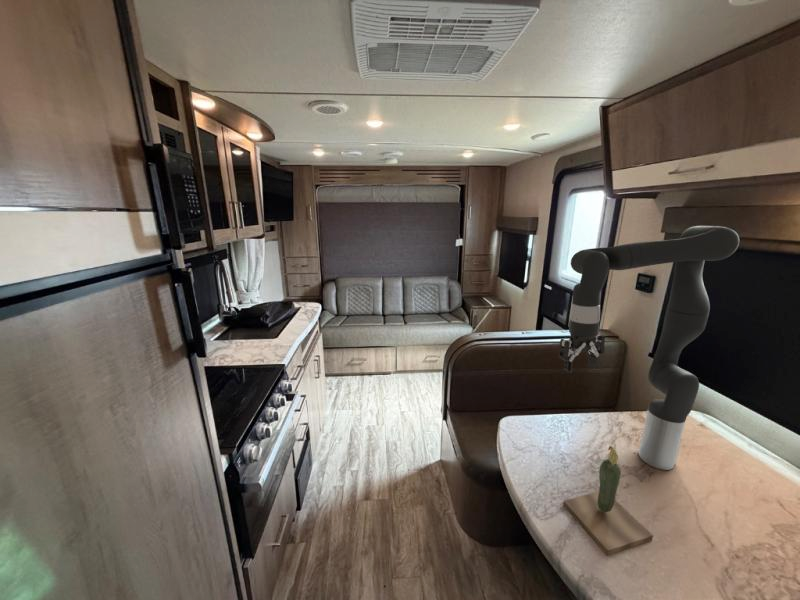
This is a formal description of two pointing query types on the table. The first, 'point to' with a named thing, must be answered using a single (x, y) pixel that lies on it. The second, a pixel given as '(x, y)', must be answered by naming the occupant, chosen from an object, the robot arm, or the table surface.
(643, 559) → the table surface
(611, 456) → the vegetable
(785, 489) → the table surface
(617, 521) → the cutting board
